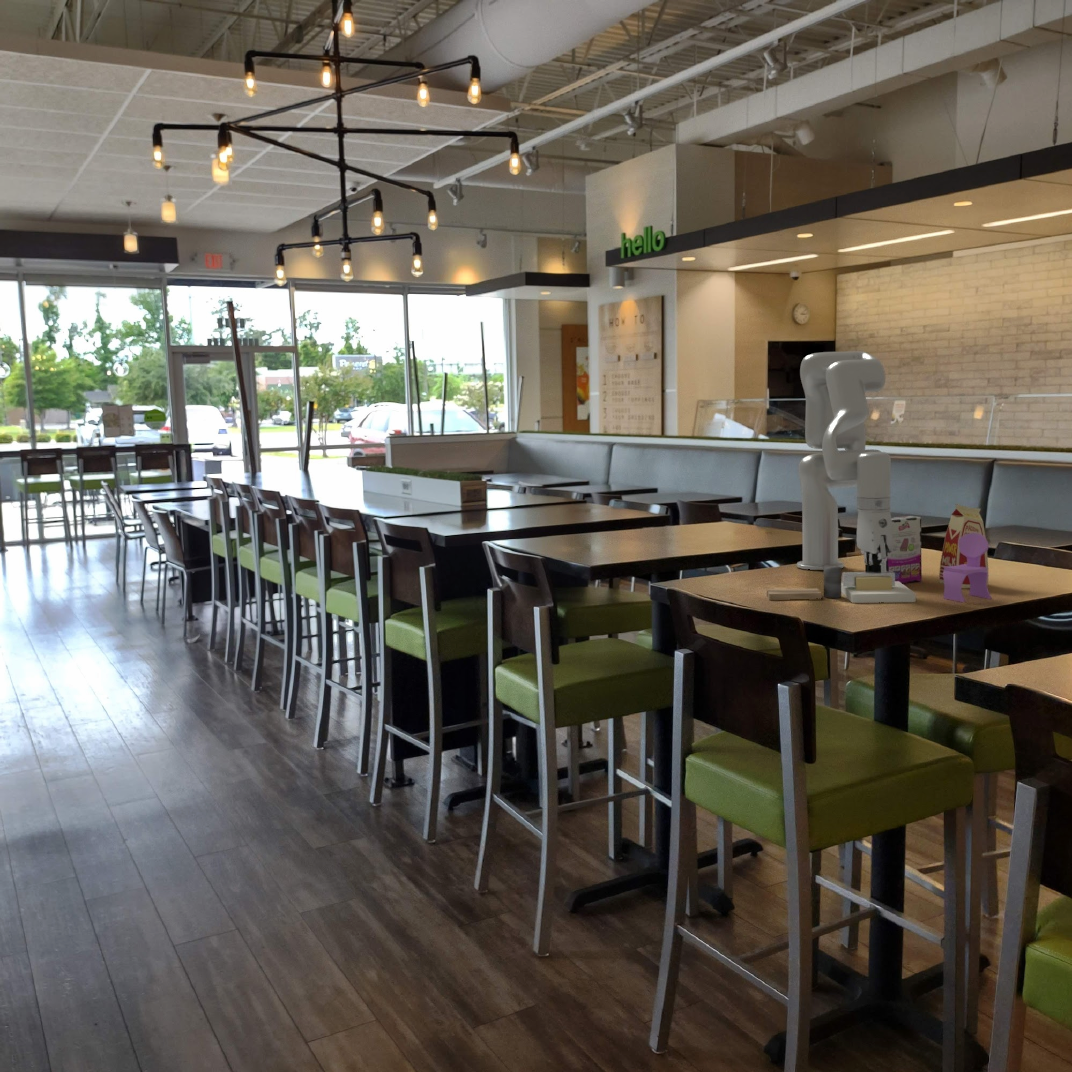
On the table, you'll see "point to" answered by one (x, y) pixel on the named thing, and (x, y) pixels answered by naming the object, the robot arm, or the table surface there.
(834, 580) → the jamb
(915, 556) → the candy bar box
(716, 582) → the table surface
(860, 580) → the butter dish
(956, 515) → the milk carton
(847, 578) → the swing bar
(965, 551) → the toy chair
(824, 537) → the robot arm
